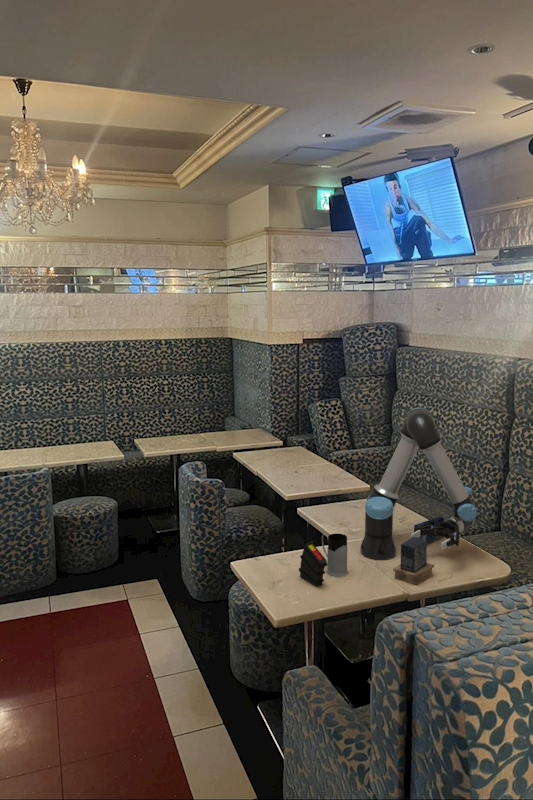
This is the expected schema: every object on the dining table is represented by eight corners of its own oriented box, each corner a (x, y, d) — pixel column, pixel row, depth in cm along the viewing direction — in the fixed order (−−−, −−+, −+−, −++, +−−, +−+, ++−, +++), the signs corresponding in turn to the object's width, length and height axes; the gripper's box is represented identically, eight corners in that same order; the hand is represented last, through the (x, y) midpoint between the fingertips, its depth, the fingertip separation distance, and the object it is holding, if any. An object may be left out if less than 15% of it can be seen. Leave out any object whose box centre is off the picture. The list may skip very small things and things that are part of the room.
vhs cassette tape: (439, 536, 286) (439, 516, 284) (444, 538, 283) (445, 517, 282) (412, 546, 275) (413, 524, 274) (417, 548, 273) (418, 526, 271)
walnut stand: (393, 578, 243) (393, 568, 242) (411, 567, 253) (411, 557, 252) (415, 586, 236) (416, 576, 235) (433, 574, 246) (433, 564, 246)
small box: (412, 560, 250) (413, 535, 248) (427, 564, 246) (428, 539, 244) (399, 568, 242) (400, 543, 241) (414, 573, 238) (415, 547, 236)
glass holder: (335, 579, 242) (336, 542, 240) (313, 566, 254) (313, 531, 252) (352, 573, 247) (353, 538, 245) (330, 561, 259) (330, 527, 256)
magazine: (301, 568, 249) (311, 541, 241) (320, 592, 240) (331, 565, 232) (294, 570, 247) (304, 543, 239) (312, 595, 238) (323, 567, 230)
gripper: (478, 543, 257) (454, 559, 242) (424, 529, 274) (399, 542, 259) (479, 526, 256) (455, 541, 240) (425, 512, 273) (399, 525, 257)
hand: (426, 541), depth 249 cm, fingers open, 13 cm apart
